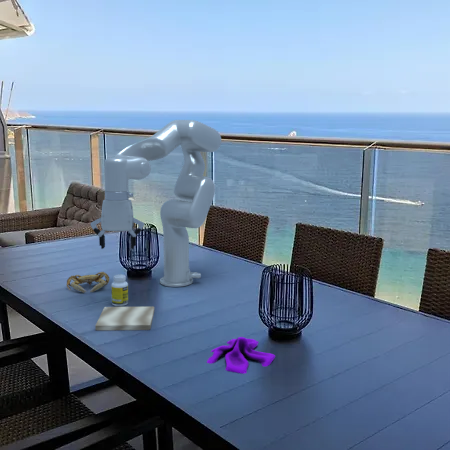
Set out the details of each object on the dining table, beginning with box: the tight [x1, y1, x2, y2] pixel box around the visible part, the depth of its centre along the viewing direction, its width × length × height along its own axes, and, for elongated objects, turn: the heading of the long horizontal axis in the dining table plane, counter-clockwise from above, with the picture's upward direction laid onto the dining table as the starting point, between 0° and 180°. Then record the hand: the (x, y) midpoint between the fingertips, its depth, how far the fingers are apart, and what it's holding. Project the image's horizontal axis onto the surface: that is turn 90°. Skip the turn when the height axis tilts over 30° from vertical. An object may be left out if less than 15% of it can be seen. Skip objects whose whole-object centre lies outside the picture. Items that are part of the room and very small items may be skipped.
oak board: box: [94, 306, 155, 331], centre depth 166 cm, size 16×16×2 cm
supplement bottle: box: [111, 274, 129, 307], centre depth 180 cm, size 5×5×10 cm
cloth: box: [206, 336, 276, 375], centre depth 141 cm, size 22×19×6 cm
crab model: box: [66, 271, 110, 294], centre depth 197 cm, size 16×13×6 cm
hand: (117, 247), depth 177 cm, fingers open, 9 cm apart
